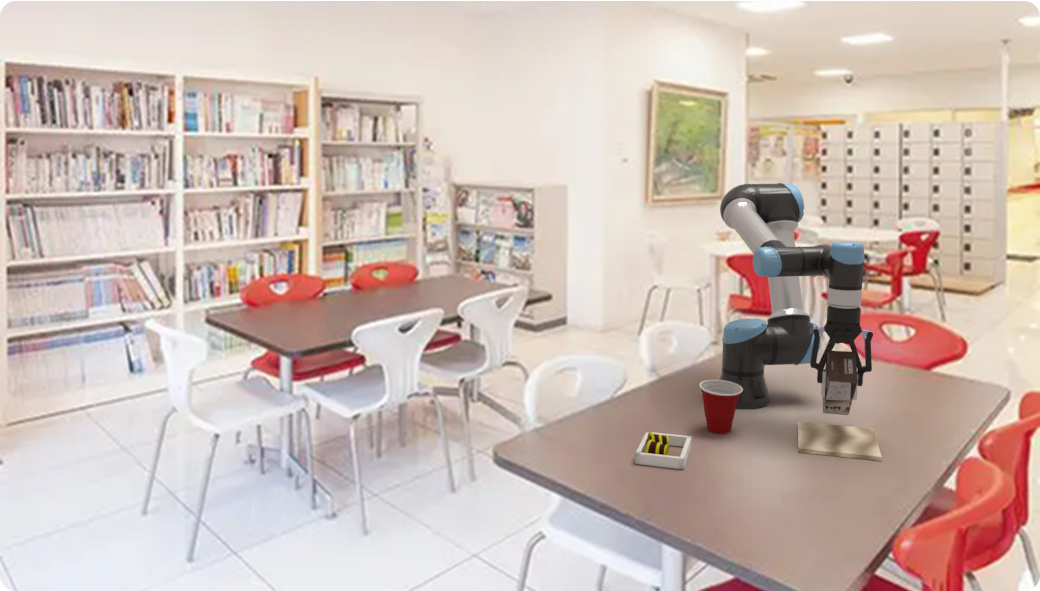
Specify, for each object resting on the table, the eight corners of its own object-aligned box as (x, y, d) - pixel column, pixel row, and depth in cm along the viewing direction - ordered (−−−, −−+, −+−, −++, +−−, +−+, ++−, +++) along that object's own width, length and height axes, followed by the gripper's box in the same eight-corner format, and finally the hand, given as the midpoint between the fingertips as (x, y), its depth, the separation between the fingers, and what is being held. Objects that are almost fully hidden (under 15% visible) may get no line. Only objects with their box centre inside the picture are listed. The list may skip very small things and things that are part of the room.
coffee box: (849, 415, 194) (858, 383, 181) (822, 413, 196) (828, 381, 183) (848, 384, 199) (856, 351, 186) (821, 382, 201) (828, 349, 188)
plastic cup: (717, 440, 191) (719, 393, 188) (689, 427, 200) (690, 383, 198) (750, 433, 196) (752, 387, 193) (721, 420, 205) (722, 377, 203)
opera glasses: (668, 465, 176) (668, 444, 175) (644, 464, 177) (645, 443, 176) (669, 450, 185) (669, 430, 184) (647, 448, 186) (647, 429, 185)
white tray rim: (635, 463, 177) (635, 453, 176) (646, 441, 191) (646, 431, 190) (683, 469, 173) (683, 458, 173) (691, 446, 187) (691, 436, 187)
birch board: (798, 452, 182) (798, 448, 182) (797, 425, 201) (797, 421, 201) (881, 461, 177) (881, 456, 176) (872, 432, 195) (873, 428, 195)
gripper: (886, 304, 187) (880, 396, 191) (801, 301, 193) (796, 389, 197) (890, 310, 180) (883, 405, 184) (801, 306, 186) (796, 397, 190)
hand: (838, 396), depth 191 cm, fingers closed on coffee box, 7 cm apart
